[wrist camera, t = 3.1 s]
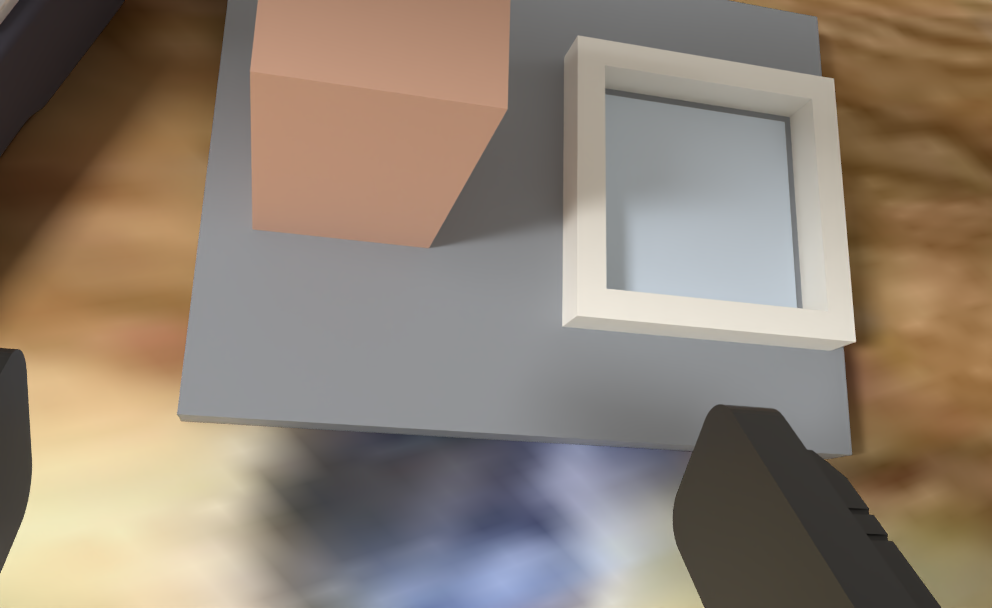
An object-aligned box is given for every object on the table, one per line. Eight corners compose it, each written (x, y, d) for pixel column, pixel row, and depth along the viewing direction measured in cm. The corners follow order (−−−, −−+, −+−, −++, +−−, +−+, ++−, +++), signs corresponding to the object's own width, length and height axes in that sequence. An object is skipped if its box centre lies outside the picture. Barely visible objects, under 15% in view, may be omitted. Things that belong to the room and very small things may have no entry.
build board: (181, 421, 22) (172, 406, 20) (239, -63, 26) (238, -121, 24) (827, 459, 26) (879, 450, 24) (796, 36, 30) (839, -5, 28)
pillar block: (252, 229, 23) (249, 70, 15) (269, 69, 24) (274, -149, 16) (428, 248, 24) (507, 109, 16) (436, 94, 25) (513, -101, 17)
